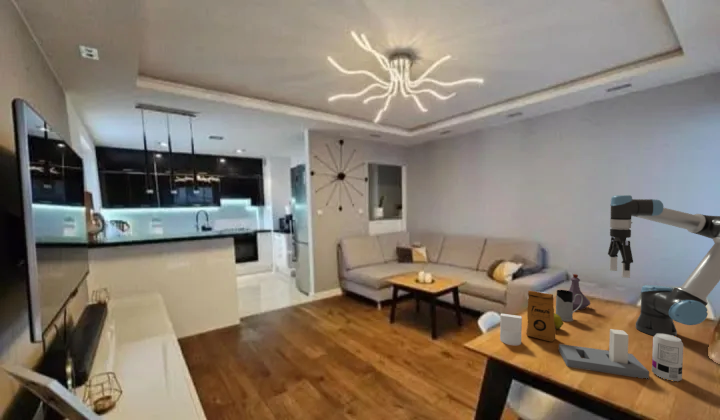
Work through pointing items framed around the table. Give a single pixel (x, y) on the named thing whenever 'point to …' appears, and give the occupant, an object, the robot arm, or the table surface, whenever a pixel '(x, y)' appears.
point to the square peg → (618, 346)
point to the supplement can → (667, 356)
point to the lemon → (558, 321)
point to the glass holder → (565, 304)
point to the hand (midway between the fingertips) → (619, 273)
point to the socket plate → (601, 361)
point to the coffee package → (541, 316)
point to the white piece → (510, 329)
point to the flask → (576, 290)
